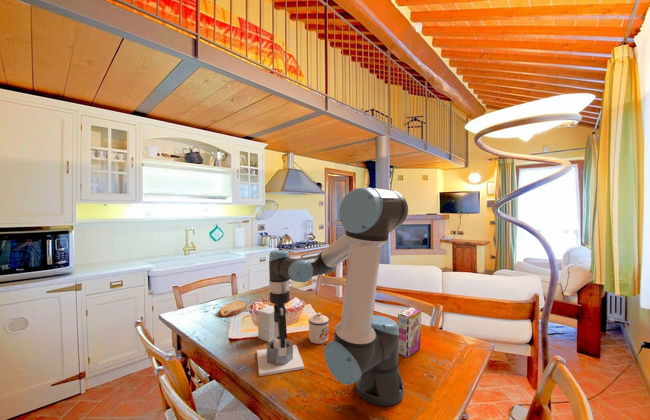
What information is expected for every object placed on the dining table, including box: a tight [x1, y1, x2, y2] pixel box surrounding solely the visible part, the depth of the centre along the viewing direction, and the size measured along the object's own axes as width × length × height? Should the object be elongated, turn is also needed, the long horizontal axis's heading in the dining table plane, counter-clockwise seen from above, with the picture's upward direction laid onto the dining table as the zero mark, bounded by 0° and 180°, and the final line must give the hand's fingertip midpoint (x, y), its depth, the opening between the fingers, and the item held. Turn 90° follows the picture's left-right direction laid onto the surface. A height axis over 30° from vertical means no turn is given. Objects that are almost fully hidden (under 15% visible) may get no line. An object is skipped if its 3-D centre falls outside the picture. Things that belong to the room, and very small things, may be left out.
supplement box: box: [257, 305, 275, 343], centre depth 124 cm, size 7×7×13 cm
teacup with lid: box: [308, 312, 330, 345], centre depth 124 cm, size 12×9×12 cm
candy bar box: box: [397, 306, 422, 359], centre depth 113 cm, size 11×5×16 cm, turn 134°
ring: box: [265, 339, 294, 366], centre depth 106 cm, size 10×10×5 cm
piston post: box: [256, 338, 305, 377], centre depth 106 cm, size 16×16×8 cm
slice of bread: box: [218, 300, 248, 319], centre depth 156 cm, size 18×18×4 cm
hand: (280, 346), depth 105 cm, fingers open, 13 cm apart
